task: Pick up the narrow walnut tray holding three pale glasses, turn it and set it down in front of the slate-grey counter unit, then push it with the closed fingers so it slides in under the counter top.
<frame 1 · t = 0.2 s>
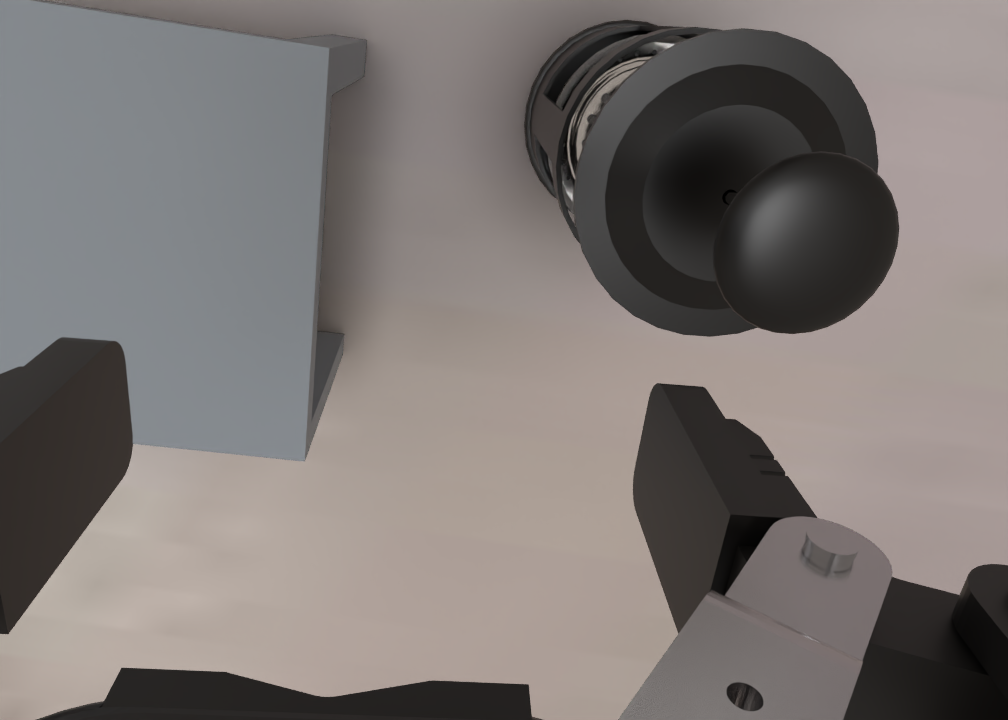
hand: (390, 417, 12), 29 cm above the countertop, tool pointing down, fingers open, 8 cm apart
counter: (148, 181, 38), on the countertop
french press: (628, 125, 38), on the countertop
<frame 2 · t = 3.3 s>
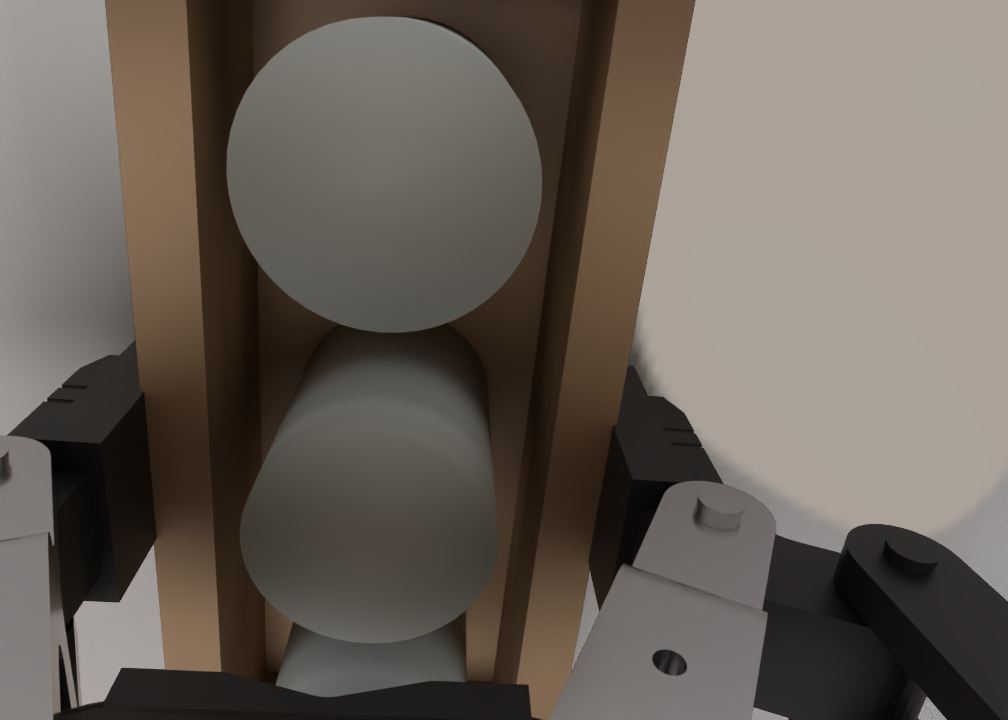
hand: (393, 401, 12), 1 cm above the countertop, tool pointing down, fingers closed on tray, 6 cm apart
tray: (400, 373, 14), on the countertop, touching gripper
when the fingers open (2 cm above the countertop, at t = 8.3 s): tray stays where it is, on the countertop.
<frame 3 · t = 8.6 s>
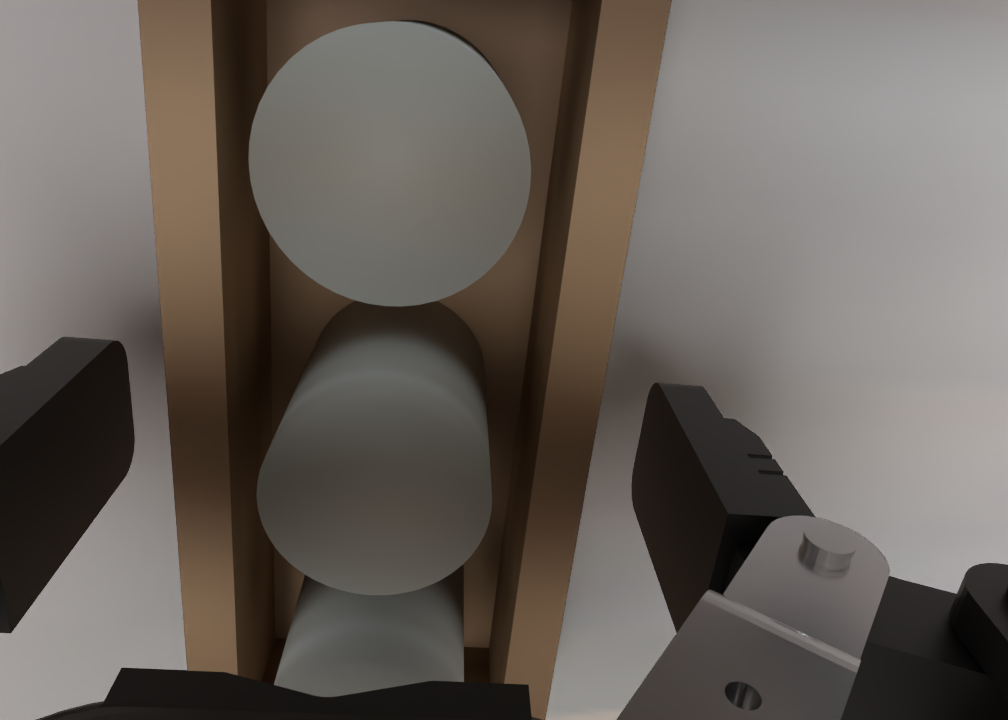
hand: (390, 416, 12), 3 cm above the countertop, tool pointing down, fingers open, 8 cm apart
tray: (402, 354, 14), on the countertop
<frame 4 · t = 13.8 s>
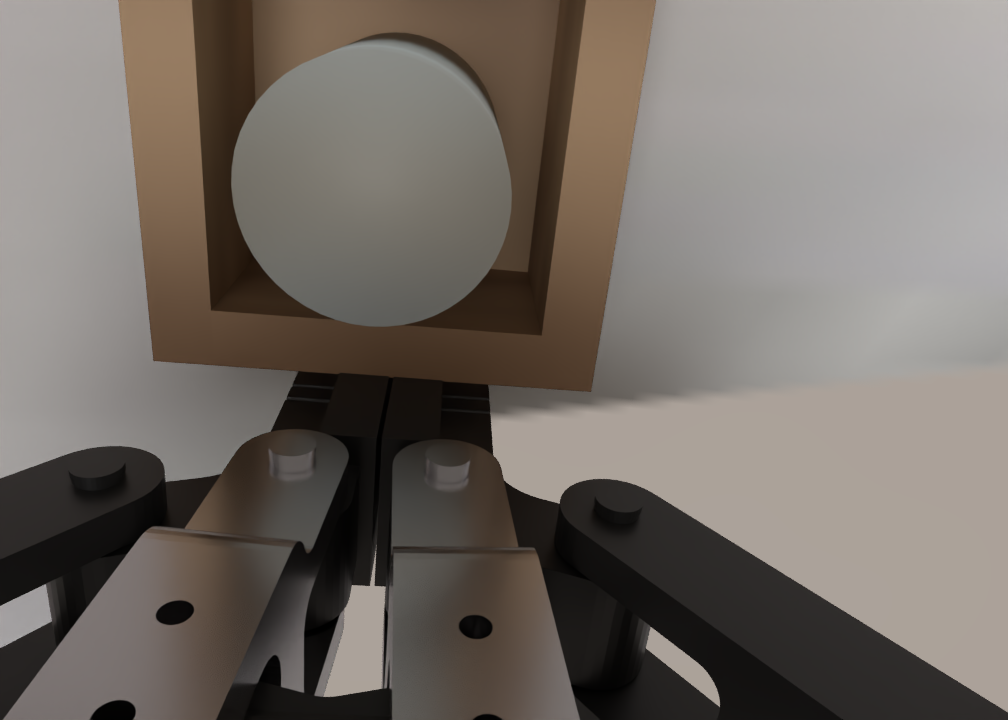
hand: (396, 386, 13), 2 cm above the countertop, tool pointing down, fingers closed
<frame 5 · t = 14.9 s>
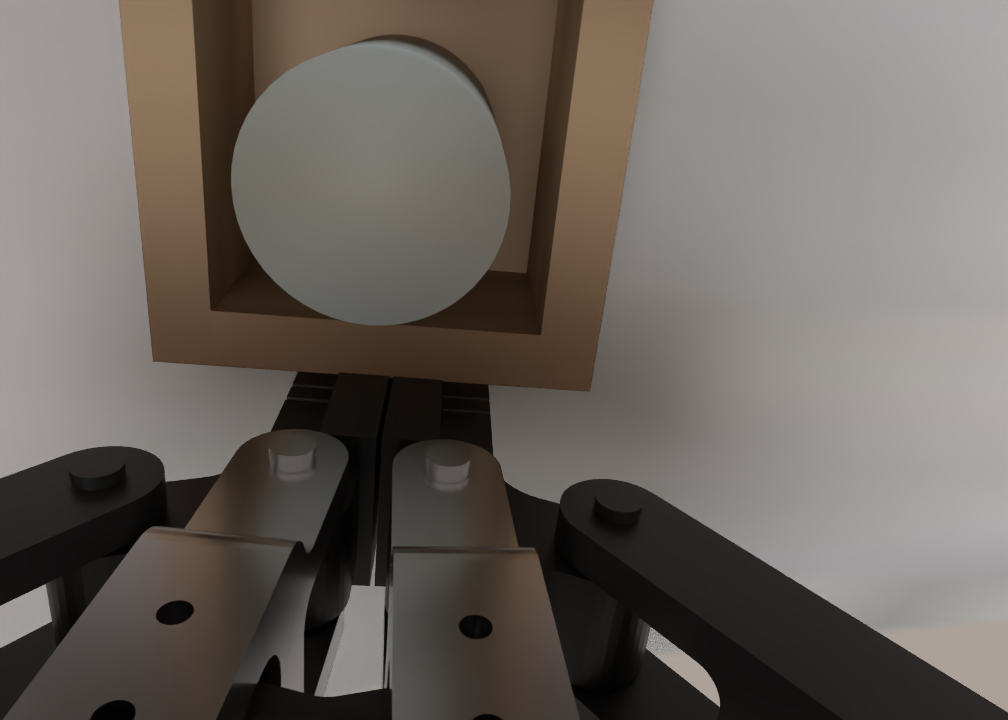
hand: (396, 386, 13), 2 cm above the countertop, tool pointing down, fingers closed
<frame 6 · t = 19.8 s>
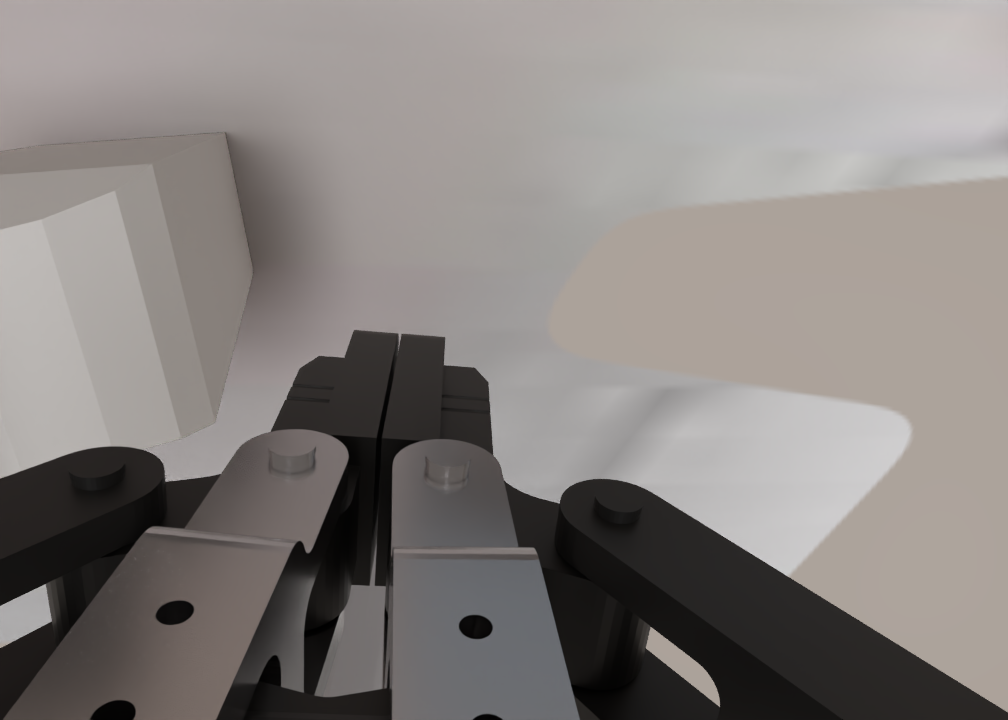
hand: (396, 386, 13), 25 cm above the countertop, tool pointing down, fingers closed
soap bottle: (157, 228, 37), on the countertop
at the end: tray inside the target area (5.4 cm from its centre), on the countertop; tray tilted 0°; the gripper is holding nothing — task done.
